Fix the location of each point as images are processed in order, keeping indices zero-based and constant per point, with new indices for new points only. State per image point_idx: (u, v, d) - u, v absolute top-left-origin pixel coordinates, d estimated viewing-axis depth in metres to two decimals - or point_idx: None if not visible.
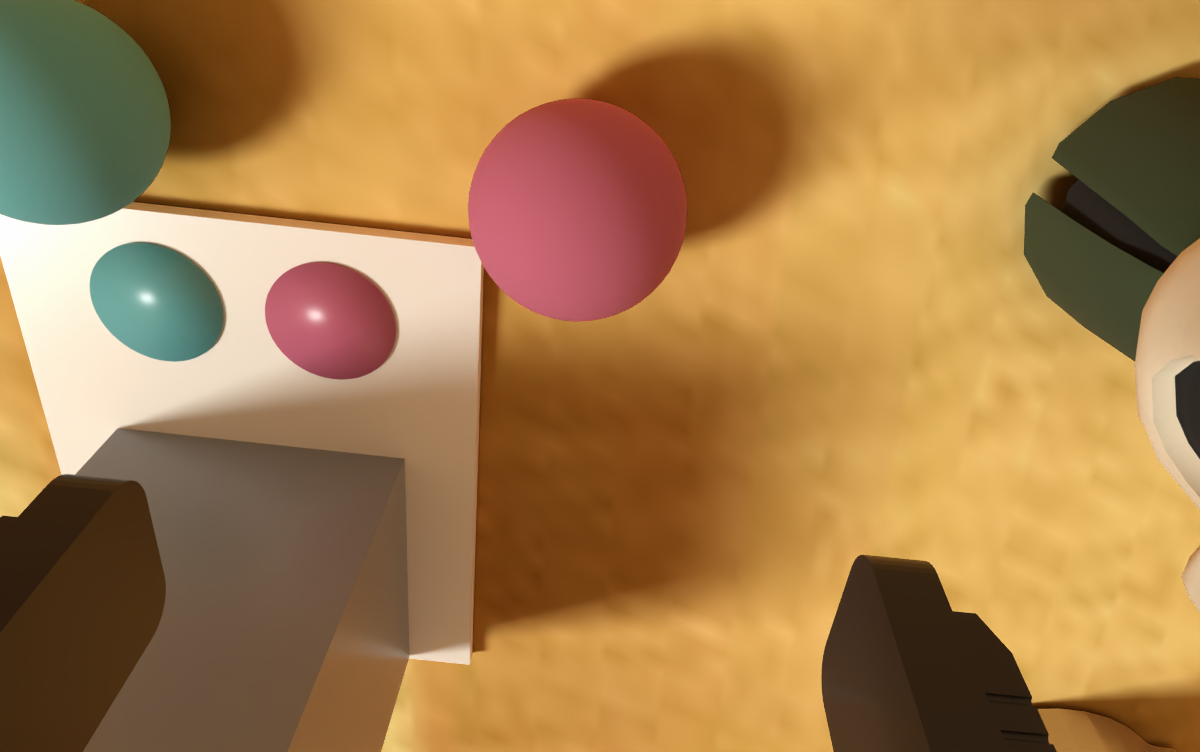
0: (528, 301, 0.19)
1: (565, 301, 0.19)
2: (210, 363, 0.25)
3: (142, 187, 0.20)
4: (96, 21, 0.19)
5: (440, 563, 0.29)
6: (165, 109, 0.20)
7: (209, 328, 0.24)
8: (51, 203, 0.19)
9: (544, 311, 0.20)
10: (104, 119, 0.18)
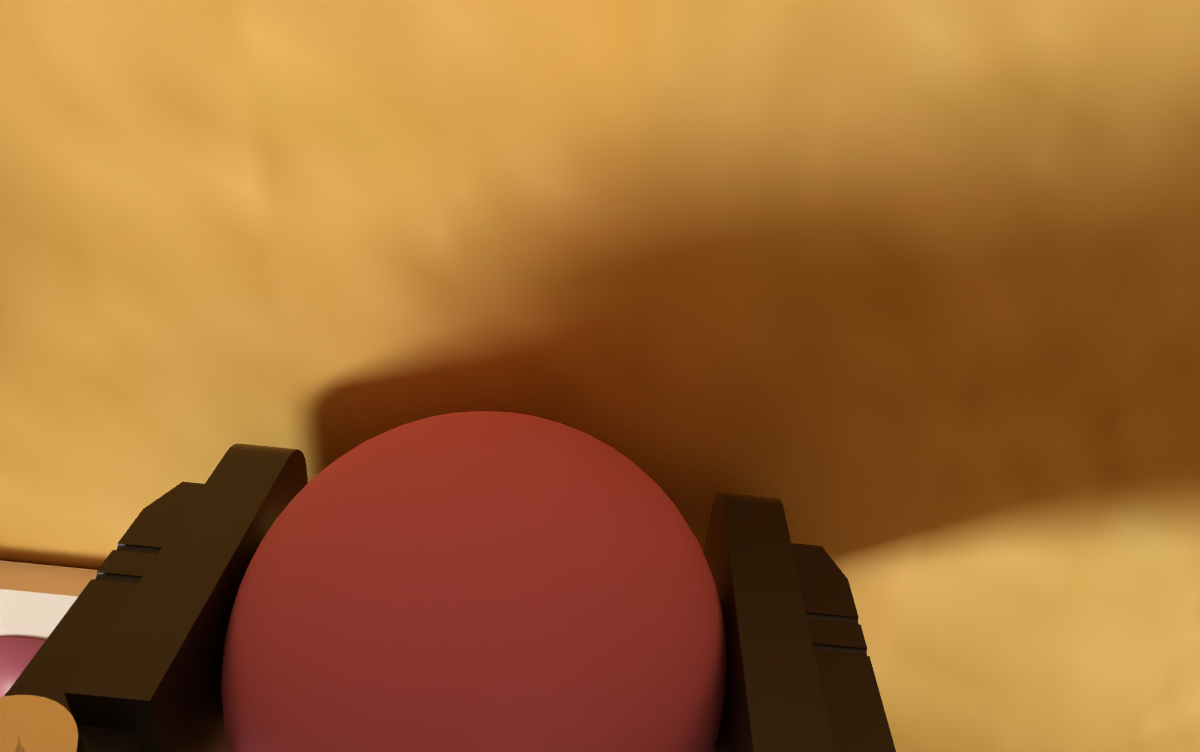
0: None
1: None
2: None
3: None
4: None
5: None
6: None
7: None
8: None
9: None
10: None
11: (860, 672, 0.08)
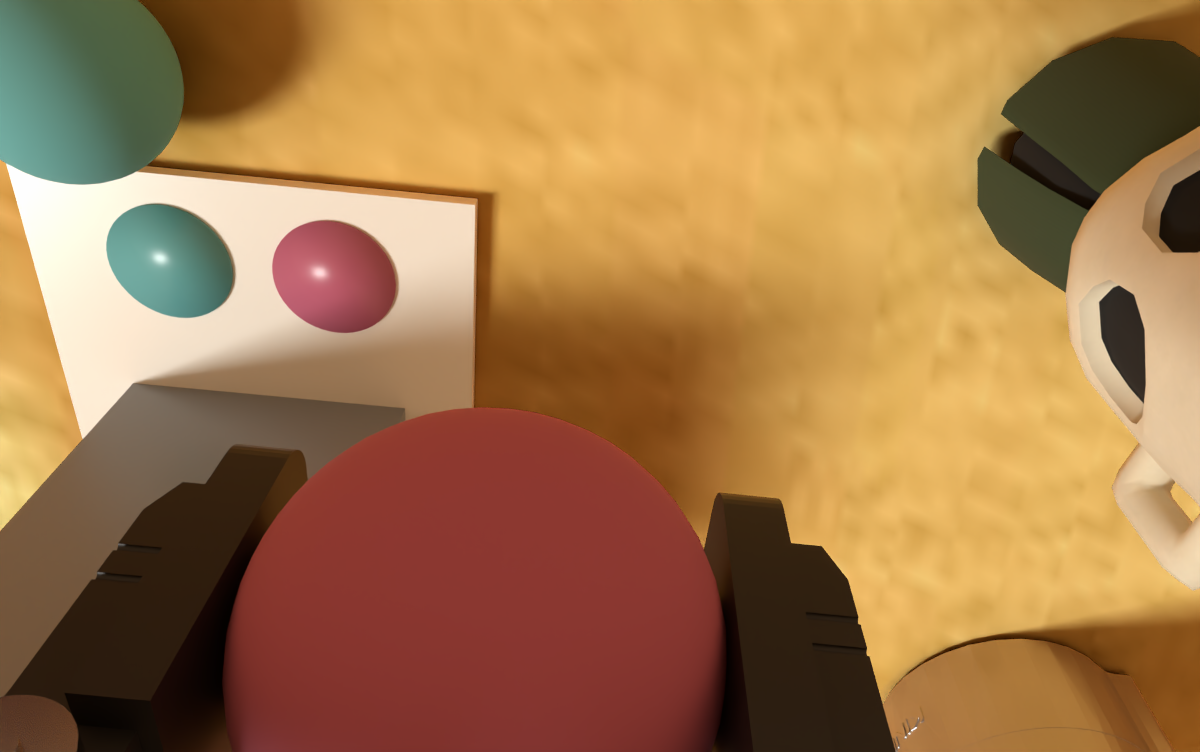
0: None
1: None
2: (220, 319, 0.27)
3: (159, 148, 0.22)
4: None
5: None
6: (179, 75, 0.21)
7: (220, 285, 0.26)
8: (78, 163, 0.20)
9: None
10: (126, 83, 0.20)
11: (860, 672, 0.08)
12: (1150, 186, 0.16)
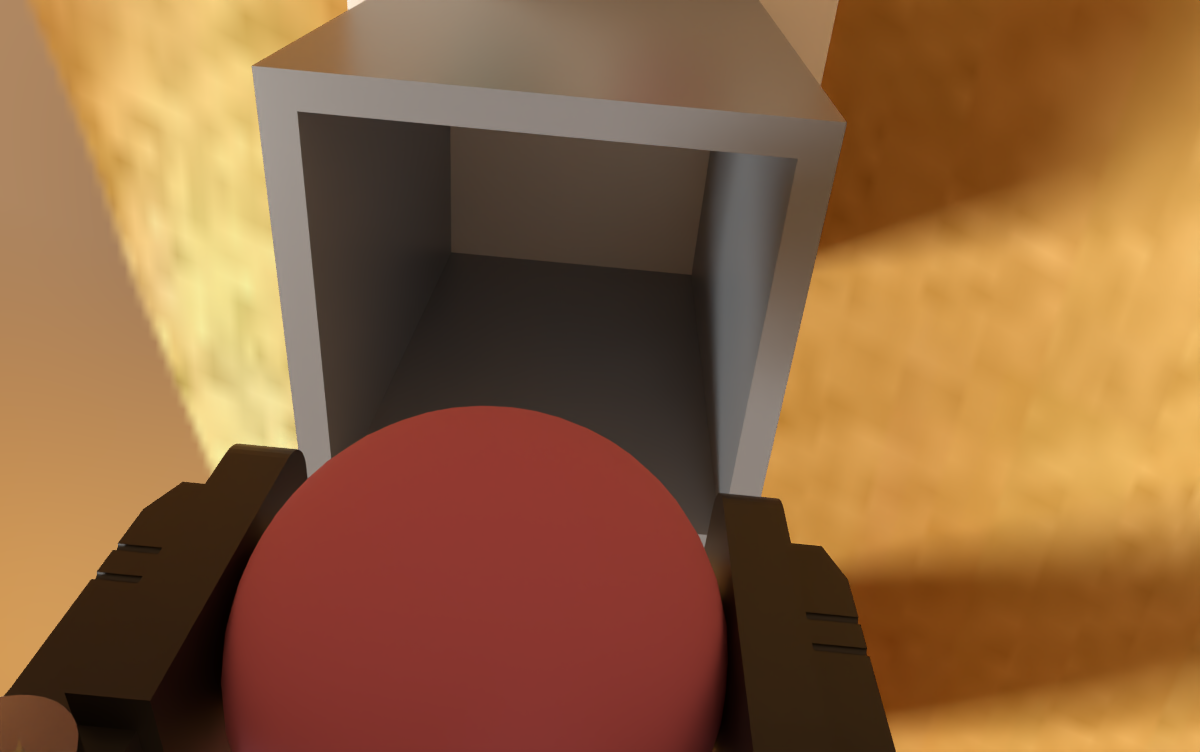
0: None
1: None
2: None
3: None
4: None
5: None
6: None
7: None
8: None
9: None
10: None
11: (860, 672, 0.08)
12: None
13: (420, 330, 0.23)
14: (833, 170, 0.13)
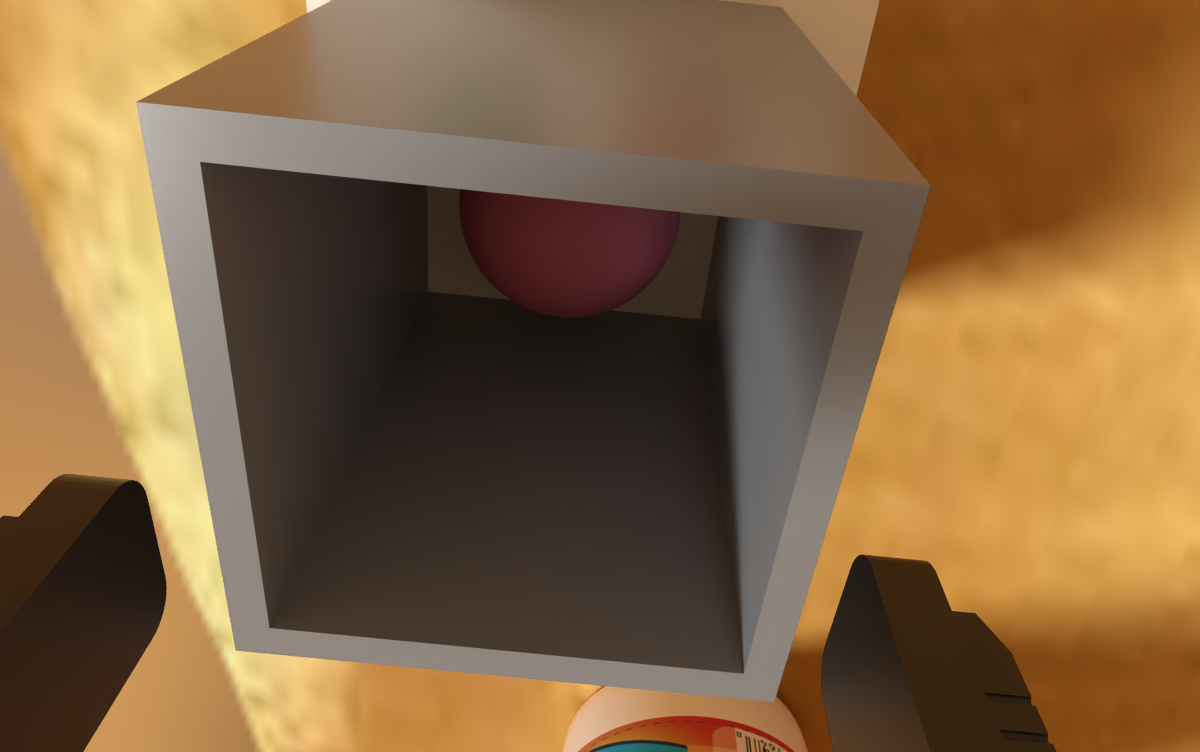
0: (520, 298, 0.19)
1: (557, 298, 0.19)
2: None
3: None
4: None
5: None
6: None
7: None
8: None
9: (536, 308, 0.19)
10: None
11: None
12: None
13: (387, 391, 0.20)
14: (907, 245, 0.10)
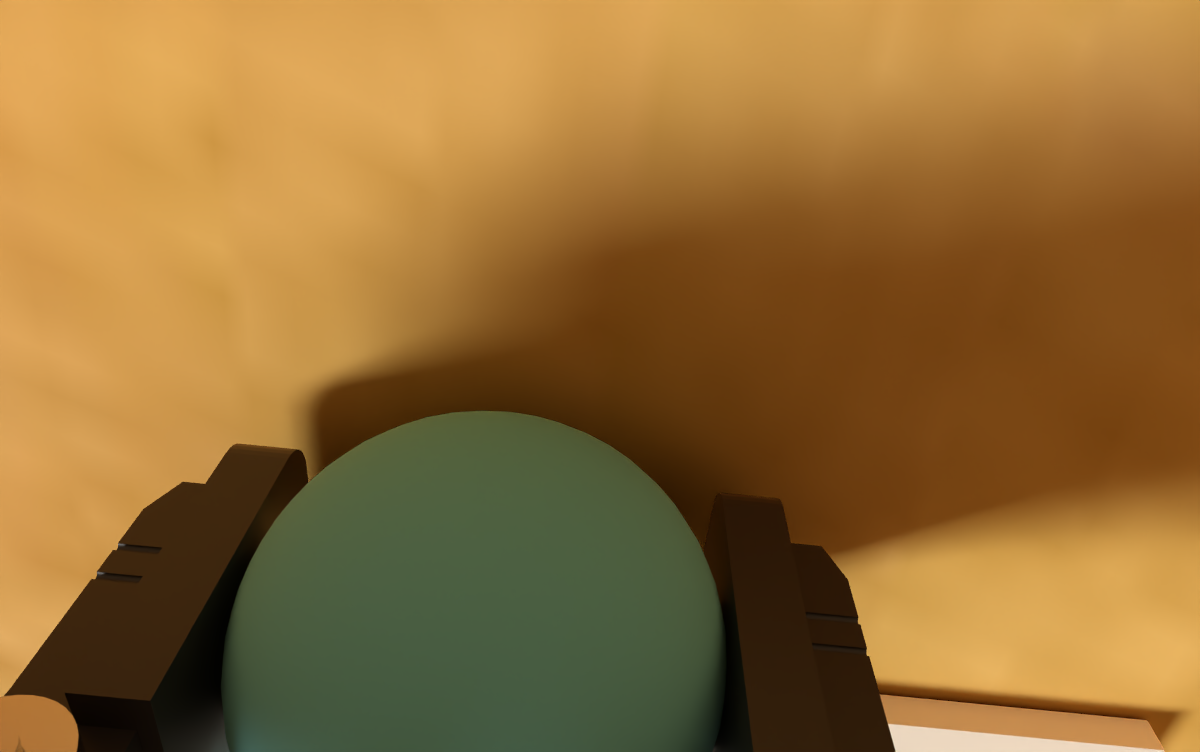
0: None
1: None
2: None
3: None
4: (646, 507, 0.08)
5: None
6: None
7: None
8: None
9: None
10: None
11: (860, 672, 0.08)
12: None
13: None
14: None
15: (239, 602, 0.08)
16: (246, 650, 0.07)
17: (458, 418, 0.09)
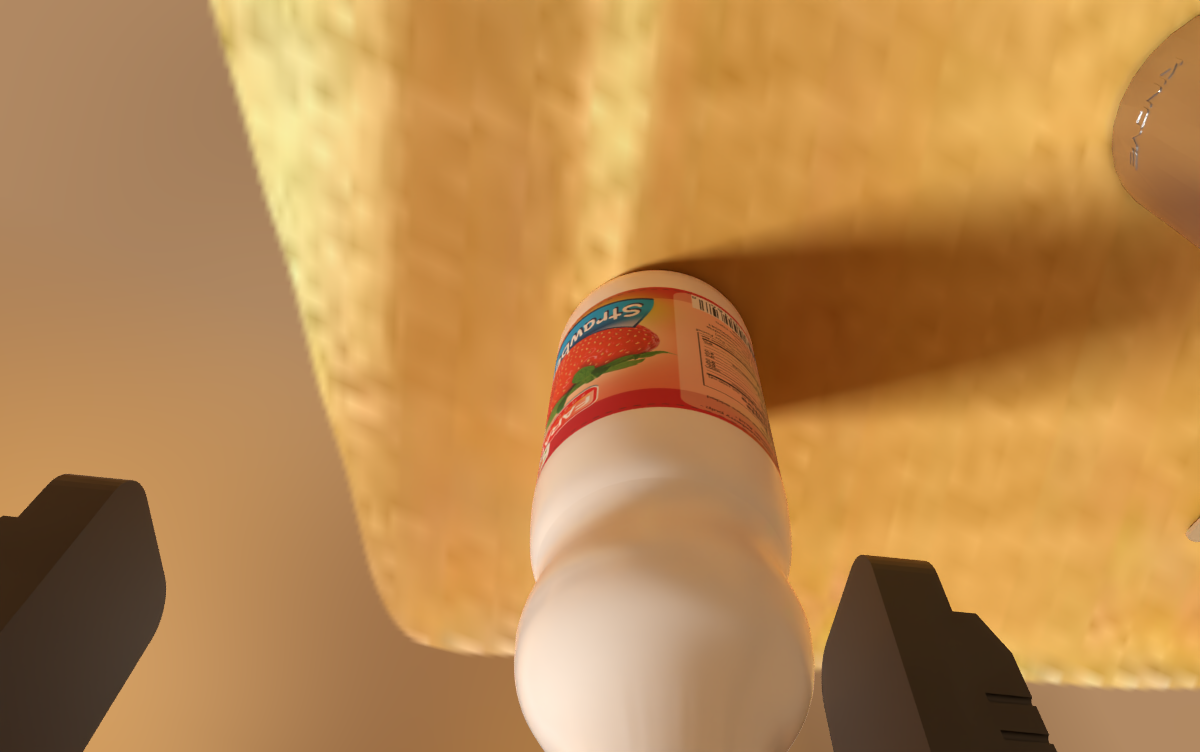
0: None
1: None
2: None
3: None
4: None
5: None
6: None
7: None
8: None
9: None
10: None
11: None
12: None
13: None
14: None
15: None
16: None
17: None
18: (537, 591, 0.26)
